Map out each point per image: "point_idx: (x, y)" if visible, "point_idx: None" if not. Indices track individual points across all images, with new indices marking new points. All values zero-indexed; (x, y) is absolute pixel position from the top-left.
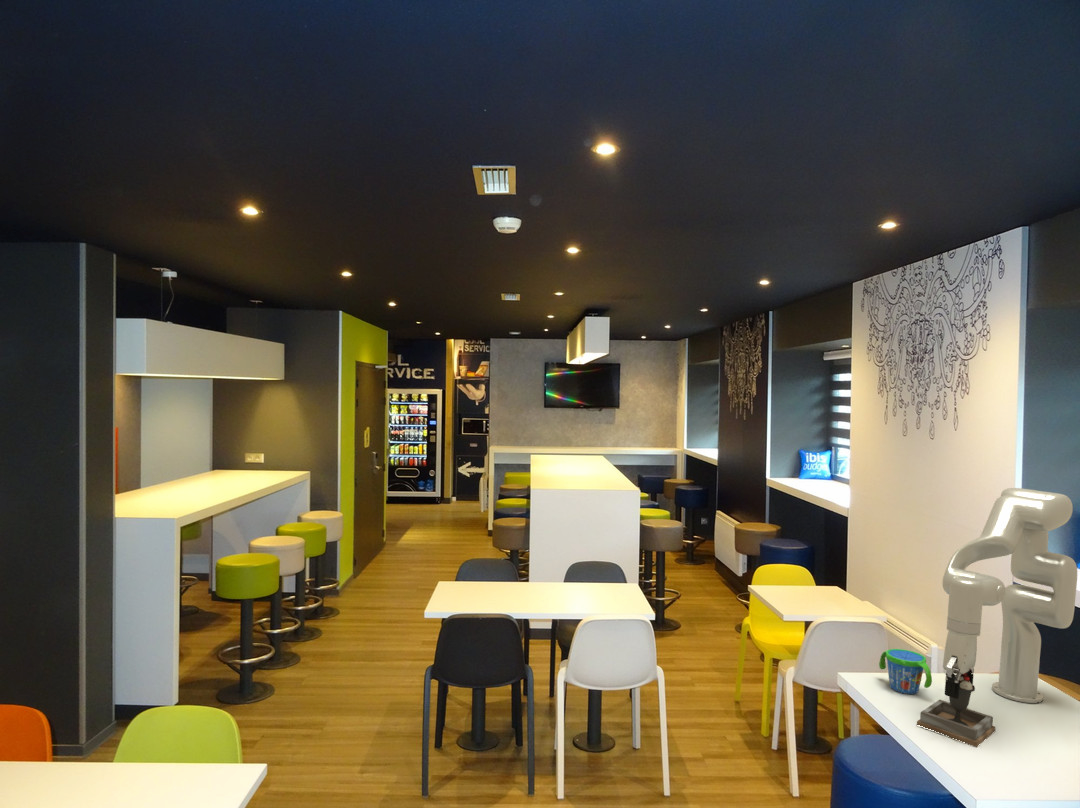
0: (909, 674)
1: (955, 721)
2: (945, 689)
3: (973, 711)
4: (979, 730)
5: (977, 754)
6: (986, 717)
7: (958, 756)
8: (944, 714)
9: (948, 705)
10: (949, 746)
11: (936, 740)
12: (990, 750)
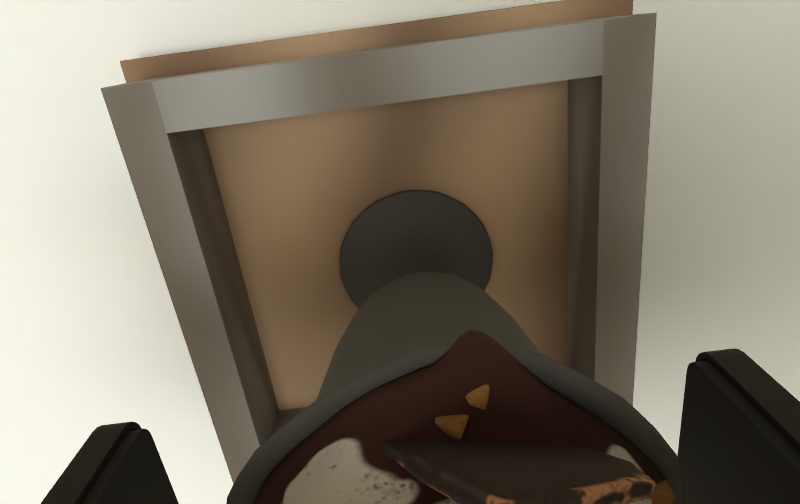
0: None
1: (383, 275)
2: (54, 494)
3: (614, 334)
4: None
5: (168, 467)
6: None
7: (24, 433)
8: (512, 118)
9: (594, 133)
10: (88, 352)
11: (74, 271)
12: None
